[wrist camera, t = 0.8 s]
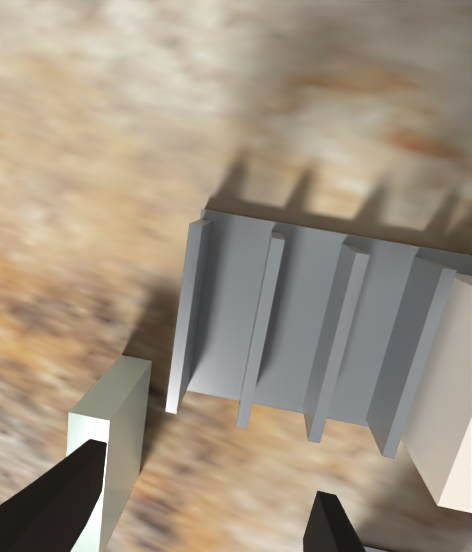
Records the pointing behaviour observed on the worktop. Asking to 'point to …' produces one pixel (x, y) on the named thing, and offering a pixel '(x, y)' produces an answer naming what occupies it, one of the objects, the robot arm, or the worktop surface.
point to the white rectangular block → (446, 405)
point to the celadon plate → (112, 441)
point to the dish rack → (308, 321)
